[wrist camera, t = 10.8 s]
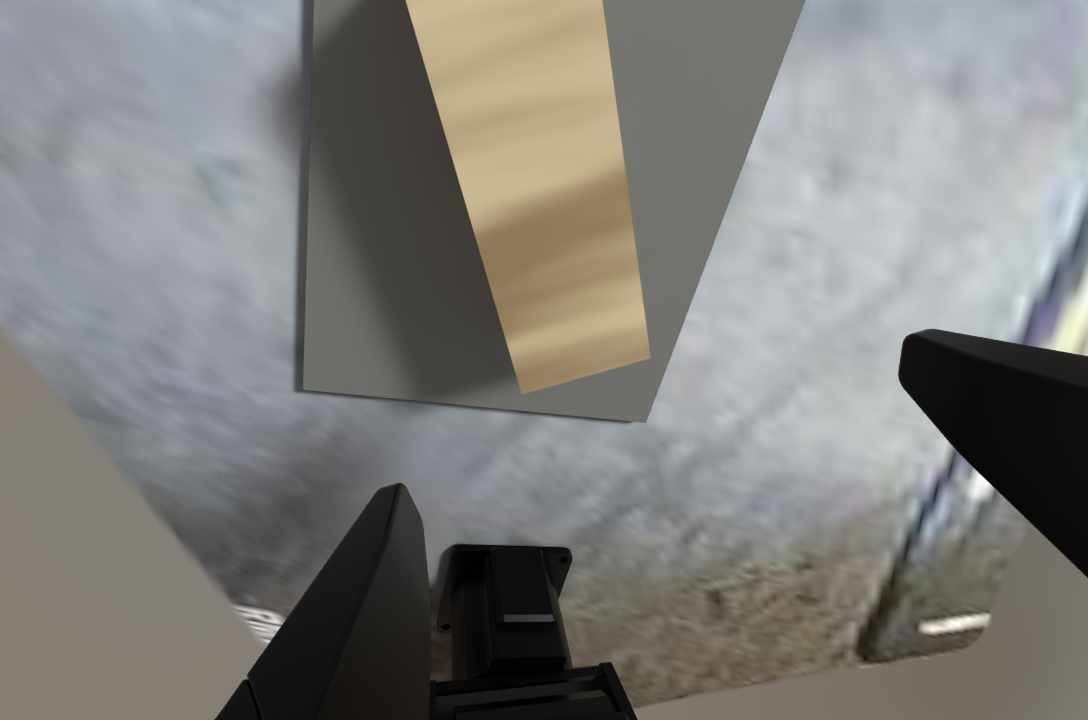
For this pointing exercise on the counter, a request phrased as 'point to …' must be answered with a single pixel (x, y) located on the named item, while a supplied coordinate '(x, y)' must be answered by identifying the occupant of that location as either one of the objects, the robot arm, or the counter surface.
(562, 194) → the block
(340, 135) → the mat
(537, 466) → the counter surface
